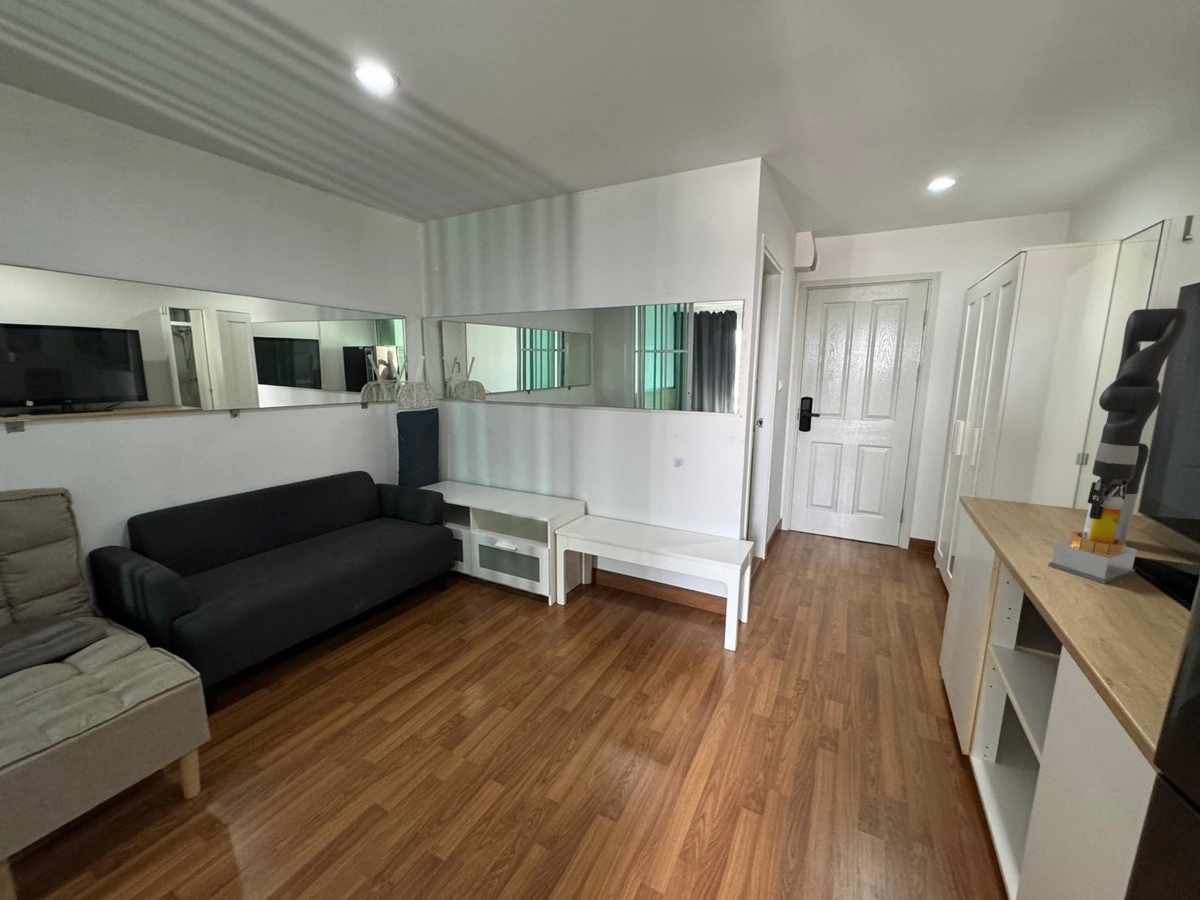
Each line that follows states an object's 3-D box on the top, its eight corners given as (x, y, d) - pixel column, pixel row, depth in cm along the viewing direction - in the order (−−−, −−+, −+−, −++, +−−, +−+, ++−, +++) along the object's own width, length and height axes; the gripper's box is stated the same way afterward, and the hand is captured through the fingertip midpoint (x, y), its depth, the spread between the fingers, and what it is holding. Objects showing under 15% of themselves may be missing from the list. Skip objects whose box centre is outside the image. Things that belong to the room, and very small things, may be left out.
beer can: (1118, 550, 127) (1131, 498, 124) (1092, 548, 128) (1104, 496, 125) (1100, 542, 133) (1111, 492, 130) (1075, 540, 134) (1086, 490, 131)
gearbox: (1084, 554, 142) (1090, 525, 140) (1139, 570, 131) (1147, 539, 129) (1048, 566, 134) (1054, 535, 132) (1104, 583, 123) (1112, 550, 121)
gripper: (1109, 455, 132) (1096, 509, 135) (1083, 459, 126) (1071, 515, 129) (1147, 461, 125) (1133, 517, 128) (1122, 465, 120) (1108, 524, 123)
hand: (1102, 516), depth 129 cm, fingers open, 8 cm apart
